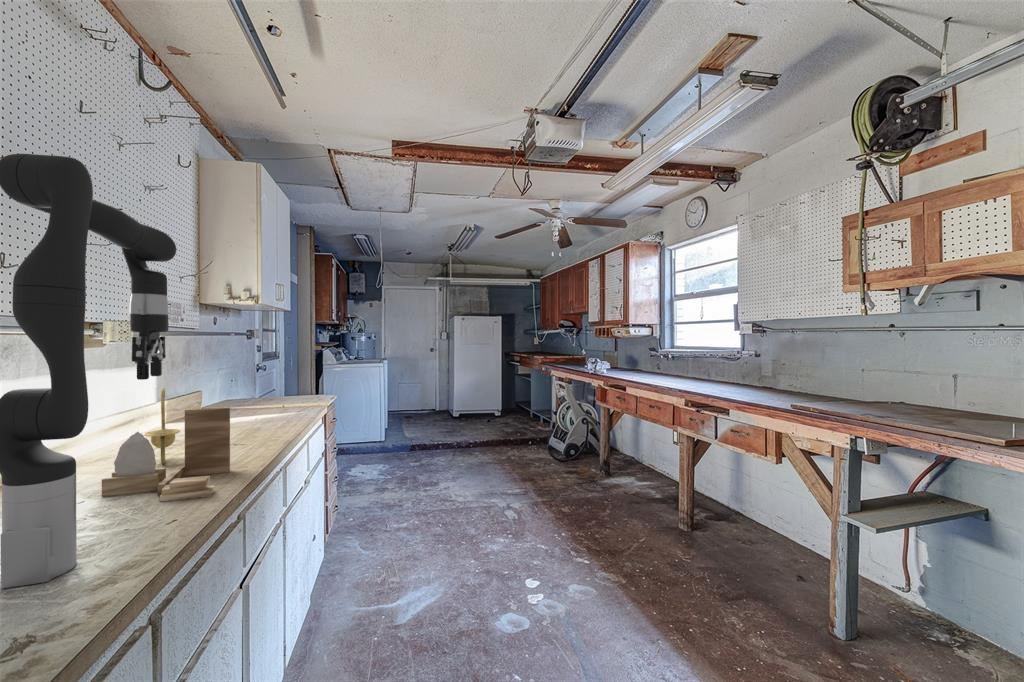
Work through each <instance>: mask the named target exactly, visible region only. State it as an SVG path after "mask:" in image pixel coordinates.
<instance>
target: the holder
mask: <svg viewBox="0 0 1024 682" xmlns="http://www.w3.org/2000/svg"><path fill="white" fill-rule="evenodd" d="M166 477H167V467H155V474H146V475H135V476H123V477H117V476H116V472H115V471H113V472H111V477H103V478H101V497H110V496H111V497H112V496H120V495H121V496H122V495H130V494H139V493H141V494H143V493H152V492H151V491H153V492H158V484H159V483H160V482H162V481H163V480H164V479H165V478H166ZM142 492H143V493H142Z"/></svg>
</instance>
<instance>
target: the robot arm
mask: <svg viewBox="0 0 1024 682" xmlns="http://www.w3.org/2000/svg"><path fill="white" fill-rule="evenodd" d="M93 187H94V186H93V180H92V178H91V174H90V171H89V170H88V168H87V167H86V165H85V164H84V163H83V162H82V161H80V160H78V158H77V159H76V158H74V157H71V156H62V155H48V154H33V153H13V154H12V153H11V154H8V155H5V156H3V157H2V158H0V188H1V189H2V190H3V192H4V193H5V194H6V195H7V197H9V198H10V199H12V200H13V201H16V202H17V203H18V204H21V205H24V206H26V207H29V208H32V209H33V210H38V211H40V212H44V213H47V214H49V218H48V219H49V220H48V225H47V228H46V230H45V233H44V234H43V236H42V238H41V240H39V242H38V243H37V244H36V245H35V247H34V248H33V249H32V250H31V251H30V252H29V254H28V255H27V256H26V257H25V259H24V260H23V261H22V262H21V263H20V264H19V267H18V268H17V270H16V271H15V273H14V276H13V281H12V304H11V305H12V313H13V314H12V315H13V317H14V319H15V321H16V322H17V324H18V326H19V327H20V328H21V330H22V331H23V332H24V333H25V334H26V336H27V337H28V338H29V340H30V341H31V342H32V343H33V344H34V346H36V348H37V349H38V350H39V351H40V353H41V354H42V355H43V357H44V359H45V361H46V363H47V366H48V370H49V377H50V386H51V388H50V387H48V388H46V387H45V388H44V387H43V388H19V389H12V390H9V391H7V392H5V393H4V394H3V395H2V396H1V397H0V476H1V534H0V588H1V589H7V588H14V587H21V586H27V585H28V586H29V585H35V584H42V583H47V582H50V581H51V580H53V579H54V578H56V577H59V576H61V575H63V574H65V573H68V572H69V571H71V570H72V569H73V568H75V567H76V565H77V552H78V550H77V545H78V544H77V461H76V459H75V457H73V456H72V455H69V454H65V453H62V452H61V453H60V452H57V451H55V450H52V449H50V448H49V447H48V446H46V445H44V444H43V442H42V441H50V440H51V441H52V440H54V441H55V440H68V439H73V438H75V437H78V436H79V435H80V434H81V433H82V432H83V431H84V429H85V427H86V425H87V421H88V418H89V417H88V416H89V394H88V392H89V391H88V382H87V373H86V363H85V321H86V306H87V305H86V304H87V301H86V298H87V295H86V294H87V292H86V291H87V290H86V289H87V288H86V287H87V283H86V280H87V279H86V265H87V264H86V262H87V261H86V260H87V259H86V258H87V243H88V237H89V236H88V234H89V232H92V233H94V234H96V235H98V236H100V237H102V238H103V239H105V240H107V241H108V242H110V243H112V244H114V245H116V246H118V247H120V248H121V250H122V254H123V257H124V259H125V262H126V265H127V268H128V269H127V270H128V271H129V276H130V300H129V331H130V332H133V333H138V336H136V335H135V336H132V337H131V362H132V363H133V362H134V363H135V364H136V379H137V380H141V381H143V380H148V379H149V378H150V376H151V377H160V376H162V372H163V371H162V369H163V368H162V367H163V365H162V364H163V361H164V359H166V357H167V355H166V336H164V335H161V334H160V333H167V332H168V331H169V299H168V278H167V275H166V274H165V273H164V272H161V271H157V270H152V269H150V268H149V266H148V265H147V262H154V263H155V262H157V263H162V262H163V263H165V262H169V261H171V260H172V259H173V258H175V256H176V254H177V245H176V243H175V241H174V239H172V238H171V236H170V235H168V234H167V233H165V232H164V231H161V230H159V229H157V228H154V227H152V226H150V225H146V224H143V223H140V222H139V221H138V220H137V219H135V218H133V217H131V215H129V214H127V212H124V211H122V210H121V209H119V208H116V207H114V206H111V205H109V204H106V203H103V202H100V201H98V200H95V199H94V188H93Z"/></svg>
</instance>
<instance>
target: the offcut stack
mask: <svg viewBox="0 0 1024 682" xmlns="http://www.w3.org/2000/svg"><path fill="white" fill-rule="evenodd" d="M210 482H211V475H205V476H190V477H183V478H178V479H174V480H173V481H171V482H170V483H169V485H165V487H164V488H163V489H162V495H160V496H159V502H160V501H163V502H169V501H168V500H172V501H179V500H178V499H182V500H186V499H185V498H191V499H196V498H195V497H201V498H204V497H203V496H210V495H211V494H212V493H213V494H214V492H215V491H214V490H215V489H216V488H215V487H216V486H215V485H208V484H209V483H210ZM213 491H214V492H213ZM213 494H212V495H213ZM212 495H211V496H212ZM211 496H210V497H211Z"/></svg>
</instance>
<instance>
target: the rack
mask: <svg viewBox="0 0 1024 682" xmlns="http://www.w3.org/2000/svg"><path fill="white" fill-rule="evenodd" d="M230 471H231V407H210V408H189V409H184V465H183V466H177V468H176V469H174V470H173V471H172V472H171V473H170V474H168V476H167V475H166V478H165V479H164V480H163V481H162V482H160V483H159V484H158V491H157V497H160V495H162V489H163V488H164V487H165V485H169V483H170V482H171V481H173V480H174V479H178V478H185V477H189V476H190V477H192V476H200V475H201V476H202V475H213V474H212V473H214V474H222V473H221V472H225V473H229V472H230Z"/></svg>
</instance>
